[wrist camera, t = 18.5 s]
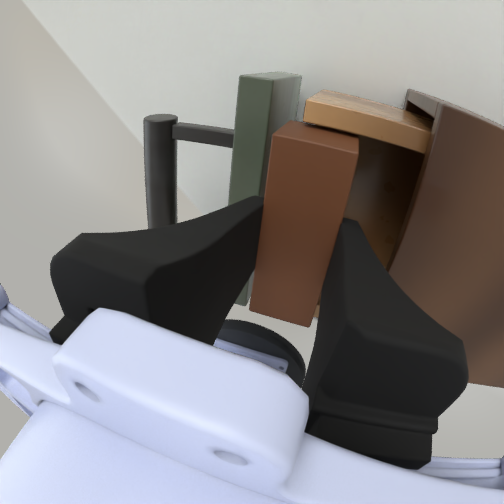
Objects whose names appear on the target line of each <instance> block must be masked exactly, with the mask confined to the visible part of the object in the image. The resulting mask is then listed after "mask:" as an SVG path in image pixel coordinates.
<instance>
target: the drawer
mask: <svg viewBox="0 0 504 504" xmlns="http://www.w3.org/2000/svg"><path fill="white" fill-rule="evenodd" d="M301 79H302V76H301V75H297V74H291V73H285V72H269V73H258V74H248V75H241V76H240V77H239V85H238V95H237V106H236V117H235V128H234V130H233V129H227V128H220V127H213V126H206V125H198V124H190V123H181V122H179V123H178V117H177V116H175V115H171V114H156V115H150V116H147V117H145V118H144V164H145V187H146V203H147V218H148V229H152V228H157V227H162V226H168V225H173V224H177V140H185V141H191V142H198V143H205V144H211V145H217V146H223V147H229V148H233V151H232V163H231V176H230V189H229V202H228V206H229V205H232V204H234V203H236V202H239V201H241V200H243V199H246V198H248V197H251V196H254V195H256V196H260V197H264V195H265V187H266V180H267V172H268V164H269V157H270V149H271V141H272V135H273V133H275V132H276V131H277V130H278V129H280V128H281V127H282V126H283V125H285V124H286V123H287V122H289V121H290V120H293V121H295V120H296V113H297V107H298V100H299V93H300V86H301ZM303 122H306V123H311V124H316V125H317V126H322V127H326V128H330V129H335V130H339V131H343V132H347V133H351V134H355V135H358V136H359V157H358V161H357V165H356V169H355V174H354V178H353V182H352V186H351V190H350V194H349V197H348V201H347V205H346V209H345V213H344V216H343V217H344V218H348V219H352V220H355V221H358V223H359V225H360V226H361V228H362V230H363V232H364V234H365V236H366V238H367V240H368V242H369V244H370V246H371V248H372V249H373V251H374V253H375V254H376V256H377V257H378V259H379V260H380V262H381V263H382V265H383V266H384V268H385V269H386V266H387V264H388V261H389V259H390V256H391V254H392V251H393V249H394V246H395V244H396V241H397V238H398V236H399V233H400V230H401V228H402V225H403V222H404V219H405V217H406V214H407V211H408V208H409V205H410V202H411V199H412V196H413V193H414V190H415V187H416V184H417V181H418V177H419V174H420V171H421V168H422V164H423V161H424V157H425V154H426V150H427V147H428V143H429V139H430V135H431V132H432V128H433V124H434V120H433V119H430V118H427V117H424V116H421V115H418V114H415V113H412V112H409V111H406V110H402V109H399V108H396V107H392V106H389V105H385V104H382V103H378V102H375V101H371V100H367V99H363V98H359V97H355V96H351V95H347V94H342V93H338V92H333V91H329V90H322V91H320V92H318V93H317V94H315V95H313V96H312V97H310V98H308V99H307V100H306V104H305V110H304V117H303ZM253 277H254V271H253V273H252V275H251V276H250V278H249V280H248V281H247V283H246V285H245V286H244V288H243V290H242V291H241V293H240V295H239V296H238V298H237V300H236V301H235V304H238V305H242V306H246V305H247V303H248V300H249V298H250V297H251V292H252V284H253ZM321 292H322V291H321ZM320 300H321V295H320V298H319V301H318V304H317V307H316V310H315V313H314V316H313V317H316V318H318V316H319V308H320Z"/></svg>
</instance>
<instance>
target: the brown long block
mask: <svg viewBox="0 0 504 504" xmlns="http://www.w3.org/2000/svg"><path fill="white" fill-rule="evenodd" d="M358 157H359V136H358V135H355V134H351V133H347V132H343V131H339V130H335V129H330V128H326V127H322V126H317V125H312V124H308V123H303V122H298V121H293V120H290V121H289V122H287V123H286V124H285V125H283V126H282V127H281V128H280V129H278V130H277V131H276V132H275V133H273V135H272V141H271V149H270V157H269V164H268V172H267V180H266V187H265V195H264V202H263V204H264V206H263V213H262V221H261V228H260V236H259V243H258V251H257V258H256V265H255V270H254V277H253V284H252V292H251V299H250V307H249V310H250V311H252V312H256V313H259V314H262V315H266V316H269V317H273V318H276V319H280V320H283V321H287V322H290V323H294V324H297V325H301V326H305V327H310V325H311V322H312V319H313V316H314V313H315V310H316V307H317V304H318V301H319V298H320V295H321V291H322V286H323V283H324V279H325V276H326V273H327V270H328V266H329V263H330V259H331V256H332V253H333V249H334V246H335V242H336V239H337V235H338V232H339V228H340V224H341V223H342V220H343V216H344V213H345V209H346V205H347V201H348V197H349V194H350V190H351V186H352V182H353V178H354V174H355V169H356V165H357V161H358Z"/></svg>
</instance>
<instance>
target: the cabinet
mask: <svg viewBox="0 0 504 504" xmlns="http://www.w3.org/2000/svg"><path fill="white" fill-rule="evenodd" d="M403 110H406V111H409V112H412V113H415V114H418V115H421V116H424V117H427V118H430V119H433V120H434V124H433V128H432V132H431V135H430V139H429V143H428V147H427V150H426V154H425V157H424V161H423V164H422V168H421V171H420V174H419V177H418V181H417V184H416V187H415V190H414V193H413V196H412V199H411V202H410V205H409V208H408V211H407V214H406V217H405V219H404V222H403V225H402V228H401V230H400V233H399V236H398V238H397V241H396V244H395V246H394V249H393V251H392V254H391V256H390V259H389V261H388V264H387V266H386V271H387V272H388V273H389V275H390V276H391V277H392V278H393V280H394V281H395V282H396V283H397V284H398V286H399V287H400V288H401V289H402V290H403V291H404V292H405V293H406V294H407V295H408V296H409V297H410V298H411V299H412V300H413V301H414V302H415V303H416V304H417V305H418V306H419V307H420V308H421V309H422V310H423V311H424V312H425V313H427V314H428V315H429V316H430V317H431V318H433V319H434V320H435V321H436V322H437V323H439V324H440V325H441V326H443V327H444V328H446V329H447V330H449V331H450V332H451V333H453V334H454V335H456V336H457V337H458V338H460V339H461V340H463V344H464V348H465V353H466V358H467V364H468V372H469V380H468V383H473V384H480V385H486V386H493V387H500V388H504V126H502V125H500V124H498V123H496V122H494V121H491V120H489V119H487V118H485V117H483V116H480V115H478V114H476V113H473V112H471V111H469V110H466V109H464V108H461V107H459V106H457V105H454V104H451V103H449V102H446V101H444V100H441V99H438V98H435V97H433V96H430V95H427V94H424V93H421V92H418V91H415V90H412V89H408V90H407V95H406V100H405V105H404V109H403Z"/></svg>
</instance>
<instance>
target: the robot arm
mask: <svg viewBox="0 0 504 504" xmlns="http://www.w3.org/2000/svg"><path fill="white" fill-rule="evenodd" d="M263 202H264V197H260V196H256V195H254V196H251V197H248V198H246V199H243V200H241V201H239V202H236V203H234V204H232V205H229V206H227V207H224V208H222V209H220V210H217V211H214V212H212V213H209V214H206V215H203V216H201V217H198V218H195V219H192V220H188V221H185V222H181V223H177V224H173V225H168V226H162V227H157V228H152V229H147V230H138V231H128V232H117V233H81V234H80V235H79V236H77V237H76V238H75V239H74V240H73V241H71V242H70V243H69V244H68V245H66V246H65V247H64V248H63V249H62V250H60V251H59V252H58V253H57V254H56V255H54V256H53V258H52V261H51V263H50V275H51V279H52V283H53V286H54V289H55V291H56V294H57V297H58V300H59V302H60V305H61V307H62V310H63V312H64V315H65V316H64V317H63V318H62V319H61V320H60V321H59V323H57V324H56V325H55V326H54V328H53V329H52V330H51V329H50V328H48V327H46V326H45V325H43V324H42V323H40V322H38V321H37V320H35V319H34V318H32V317H31V316H29V315H28V314H26V313H25V312H23V311H22V310H20V309H19V308H17V307H16V306H14V305H13V304H11V303H10V302H9V299H8V296H7V294H6V291H5V290H4V288H3V287H2V285H1V284H0V390H1V391H2V392H3V393H4V394H5V395H6V396H7V397H8V398H9V399H10V400H11V401H12V402H13V403H14V404H16V405H17V406H18V407H19V408H20V409H21V410H22V411H23V412H25V413H26V414H27V415H28V416H29V417H30V419H29V420H28V421H27V423H26V424H25V426H24V427H23V428H22V430H21V431H20V433H19V434H18V435H17V437H16V438H15V439H14V441H13V442H12V444H11V445H10V447H9V448H8V449H7V451H6V452H5V454H4V455H3V457H2V458H1V460H0V504H504V456H503V457H502V458H494V459H475V458H449V457H434V456H431V454H432V434H435V433H436V432H437V430H438V417H439V416H440V415H441V414H442V413H443V412H444V411H445V410H446V409H447V408H448V407H449V406H450V405H451V404H452V403H453V402H454V401H455V400H456V399H457V398H458V397H459V396H460V395H461V393H462V392H463V391H464V390H465V388H466V386H467V383H468V380H469V372H468V364H467V358H466V353H465V348H464V344H463V340H461V339H460V338H458V337H457V336H456V335H454V334H453V333H451V332H450V331H449V330H447V329H446V328H444V327H443V326H441V325H440V324H439V323H437V322H436V321H435V320H434V319H433V318H431V317H430V316H429V315H428V314H427V313H425V312H424V311H423V310H422V309H421V308H420V307H419V306H418V305H417V304H416V303H415V302H414V301H413V300H412V299H411V298H410V297H409V296H408V295H407V294H406V293H405V292H404V291H403V290H402V289H401V288H400V287H399V286H398V284H397V283H396V282H395V281H394V280H393V278H392V277H391V276H390V275H389V273H388V272H387V271H386V269H385V268H384V266H383V265H382V263H381V262H380V260H379V259H378V257H377V256H376V254H375V253H374V251H373V249H372V248H371V246H370V244H369V242H368V240H367V238H366V236H365V234H364V232H363V230H362V228H361V226H360V225H359V223H358V221H355V220H352V219H348V218H344V217H343V220H342V223H341V224H340V228H339V232H338V235H337V239H336V242H335V246H334V249H333V253H332V256H331V259H330V263H329V266H328V270H327V273H326V276H325V279H324V283H323V286H322V292H321V300H320V308H319V316H318V323H317V330H316V337H315V342H314V347H313V351H312V355H311V358H310V362H309V366H308V369H307V373H306V376H305V380H304V383H303V386H302V389H301V388H300V387H299V386H298V385H297V384H296V383H295V382H294V381H293V380H292V379H291V378H290V377H289V376H288V375H287V374H285V373H286V370H287V367H288V361H287V360H285V359H282V358H278V357H275V356H271V355H268V354H265V353H262V352H258V351H255V350H252V349H249V348H245V347H242V346H239V345H236V344H233V343H230V342H227V341H224V340H221V339H218V338H217V336H218V333H219V331H220V329H221V327H222V325H223V322H224V320H225V318H226V316H227V314H228V313H229V311H230V309H231V307H232V306H233V304H234V303H235V301H236V300H237V298H238V296H239V295H240V293H241V291H242V290H243V288H244V286H245V285H246V283H247V281H248V280H249V278H250V276H251V275H252V273H253V271H254V270H255V265H256V258H257V251H258V243H259V236H260V228H261V221H262V213H263V206H264V204H263Z"/></svg>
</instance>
